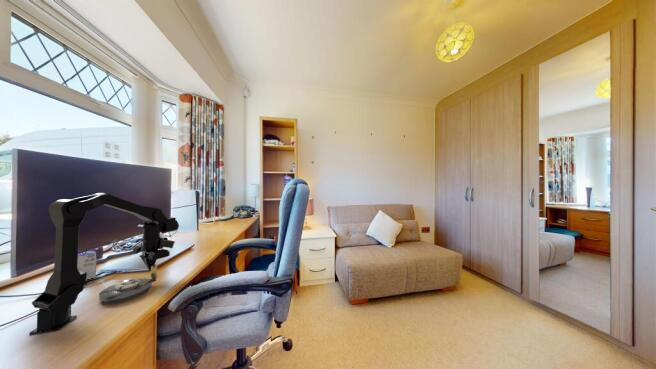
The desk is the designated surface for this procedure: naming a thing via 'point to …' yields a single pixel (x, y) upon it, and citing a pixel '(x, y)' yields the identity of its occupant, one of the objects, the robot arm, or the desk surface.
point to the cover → (127, 284)
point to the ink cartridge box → (87, 263)
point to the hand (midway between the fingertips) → (150, 270)
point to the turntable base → (125, 299)
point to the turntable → (144, 285)
